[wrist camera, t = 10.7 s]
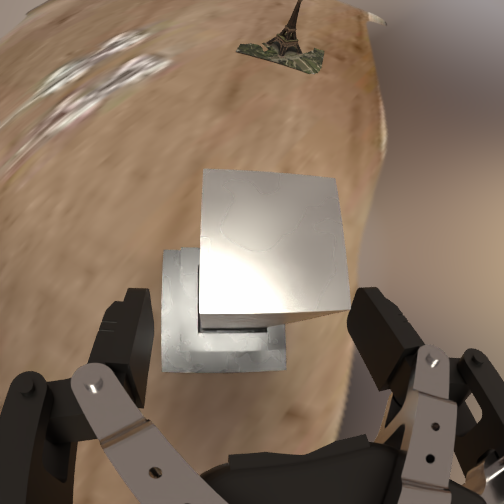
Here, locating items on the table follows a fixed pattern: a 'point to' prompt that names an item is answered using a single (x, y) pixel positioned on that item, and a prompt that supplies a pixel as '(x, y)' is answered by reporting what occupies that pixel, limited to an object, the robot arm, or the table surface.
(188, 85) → the table surface
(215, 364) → the jack stand base
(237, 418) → the table surface
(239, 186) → the column
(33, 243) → the table surface
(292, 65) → the eiffel tower figurine
